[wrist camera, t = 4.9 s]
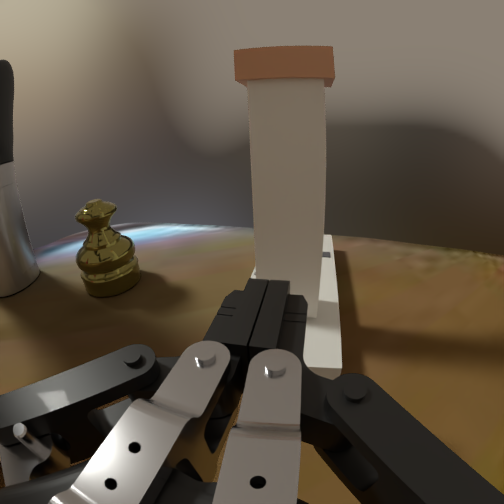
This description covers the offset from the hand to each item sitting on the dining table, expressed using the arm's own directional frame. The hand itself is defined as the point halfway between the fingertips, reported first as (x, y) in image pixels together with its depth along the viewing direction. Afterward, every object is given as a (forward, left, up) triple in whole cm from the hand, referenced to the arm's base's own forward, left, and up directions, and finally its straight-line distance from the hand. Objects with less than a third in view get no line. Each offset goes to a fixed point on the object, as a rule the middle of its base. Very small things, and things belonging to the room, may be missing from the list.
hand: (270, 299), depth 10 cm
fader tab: (+3, +8, -7) cm, 11 cm away
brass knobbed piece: (-15, +19, -9) cm, 26 cm away
